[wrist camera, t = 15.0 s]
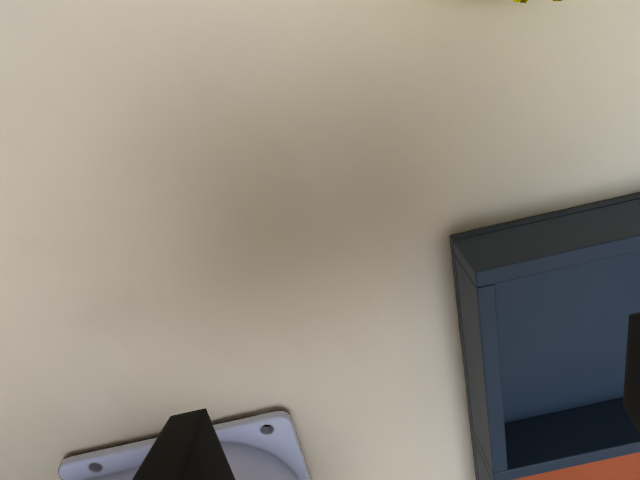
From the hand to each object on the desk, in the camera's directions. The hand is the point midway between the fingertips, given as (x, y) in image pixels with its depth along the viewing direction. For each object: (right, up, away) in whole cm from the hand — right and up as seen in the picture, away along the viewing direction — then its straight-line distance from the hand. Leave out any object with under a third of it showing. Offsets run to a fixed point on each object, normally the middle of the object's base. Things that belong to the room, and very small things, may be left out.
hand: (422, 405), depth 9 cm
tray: (+9, -4, +13) cm, 17 cm away
